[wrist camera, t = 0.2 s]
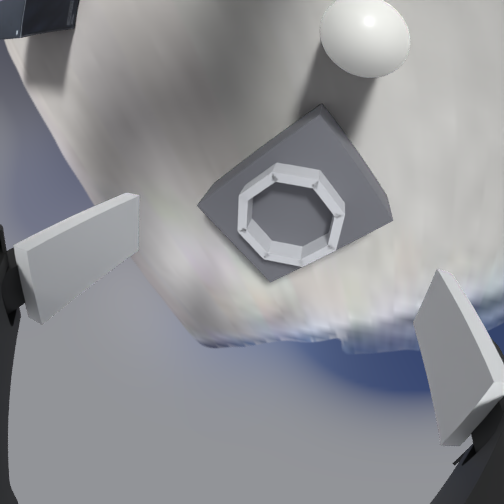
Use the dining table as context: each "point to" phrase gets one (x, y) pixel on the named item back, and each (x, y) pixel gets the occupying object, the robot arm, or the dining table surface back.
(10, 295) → the robot arm
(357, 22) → the white glossy rounded part
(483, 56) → the dining table surface
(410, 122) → the dining table surface
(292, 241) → the octagonal socket base
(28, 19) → the small box
